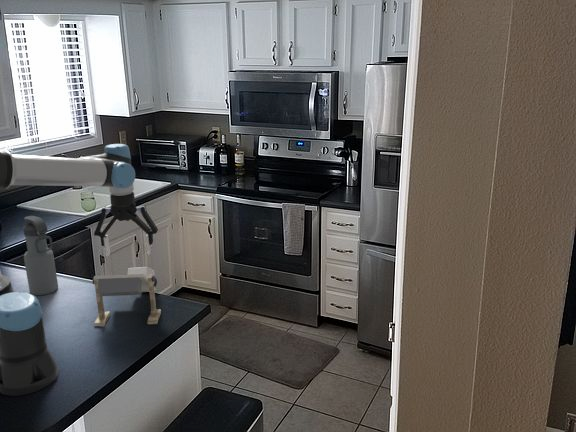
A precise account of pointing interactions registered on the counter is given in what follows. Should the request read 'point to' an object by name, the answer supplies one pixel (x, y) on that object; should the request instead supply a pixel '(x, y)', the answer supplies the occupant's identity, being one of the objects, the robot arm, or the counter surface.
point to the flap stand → (104, 316)
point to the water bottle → (39, 258)
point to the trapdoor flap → (122, 284)
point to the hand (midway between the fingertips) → (128, 254)
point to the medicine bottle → (142, 272)
